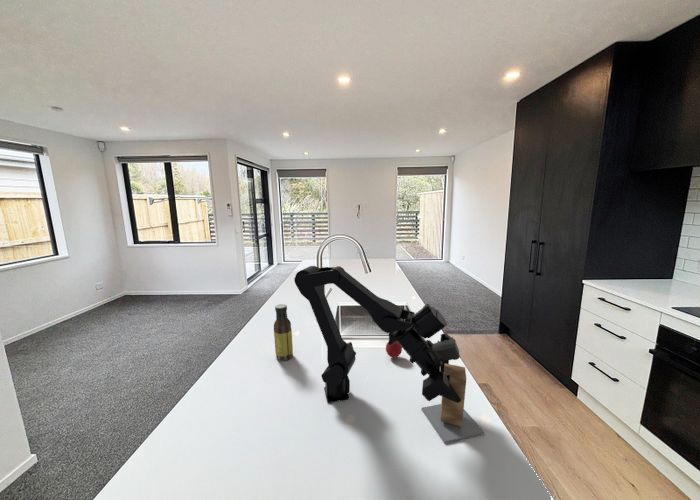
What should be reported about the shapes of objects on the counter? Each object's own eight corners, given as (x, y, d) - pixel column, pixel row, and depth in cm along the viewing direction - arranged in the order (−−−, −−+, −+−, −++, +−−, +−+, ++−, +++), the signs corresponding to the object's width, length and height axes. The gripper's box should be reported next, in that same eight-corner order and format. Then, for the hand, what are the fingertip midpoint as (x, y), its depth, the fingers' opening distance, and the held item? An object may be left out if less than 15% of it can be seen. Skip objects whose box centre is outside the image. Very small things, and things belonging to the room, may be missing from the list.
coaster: (444, 443, 63) (444, 441, 63) (421, 409, 74) (421, 407, 74) (484, 434, 66) (484, 432, 66) (456, 402, 77) (456, 400, 76)
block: (440, 421, 68) (444, 374, 66) (440, 407, 73) (444, 363, 71) (461, 426, 67) (466, 378, 65) (460, 412, 71) (465, 367, 69)
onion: (401, 363, 96) (402, 342, 94) (385, 361, 97) (385, 340, 95) (401, 354, 101) (402, 334, 100) (386, 352, 102) (386, 333, 101)
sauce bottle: (288, 350, 104) (286, 301, 100) (296, 357, 99) (294, 306, 96) (272, 356, 100) (269, 305, 96) (279, 364, 95) (277, 310, 92)
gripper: (440, 348, 58) (492, 405, 57) (440, 315, 76) (480, 358, 74) (402, 373, 62) (450, 428, 61) (410, 336, 80) (448, 378, 78)
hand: (458, 394), depth 68 cm, fingers closed on block, 5 cm apart
